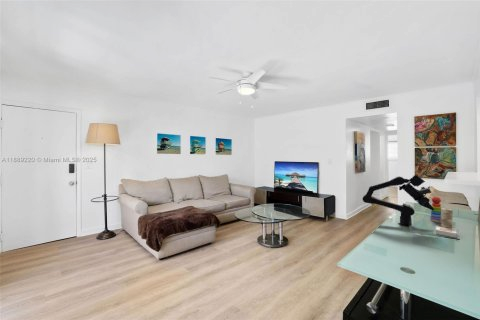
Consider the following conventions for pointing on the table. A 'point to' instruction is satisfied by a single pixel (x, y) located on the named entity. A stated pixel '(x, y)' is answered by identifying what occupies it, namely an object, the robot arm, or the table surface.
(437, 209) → the stacking toy
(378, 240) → the table surface
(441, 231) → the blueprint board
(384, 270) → the table surface
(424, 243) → the table surface
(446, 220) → the maple pillar
